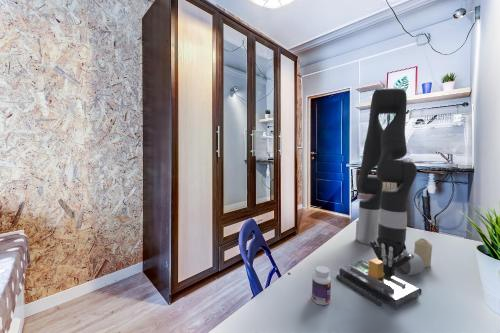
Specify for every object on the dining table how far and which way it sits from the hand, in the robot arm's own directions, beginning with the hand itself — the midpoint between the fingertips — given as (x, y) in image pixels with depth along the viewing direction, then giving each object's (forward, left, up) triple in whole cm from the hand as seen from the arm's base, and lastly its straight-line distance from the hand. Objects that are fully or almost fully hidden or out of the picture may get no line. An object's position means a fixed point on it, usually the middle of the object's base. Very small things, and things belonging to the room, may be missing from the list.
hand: (388, 276), depth 74 cm
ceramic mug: (-5, +18, -6) cm, 20 cm away
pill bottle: (-7, -22, -6) cm, 24 cm away
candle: (-5, +31, -6) cm, 32 cm away
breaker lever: (-4, 0, -2) cm, 5 cm away
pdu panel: (-4, 0, -5) cm, 7 cm away
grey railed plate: (-4, 0, -5) cm, 7 cm away
